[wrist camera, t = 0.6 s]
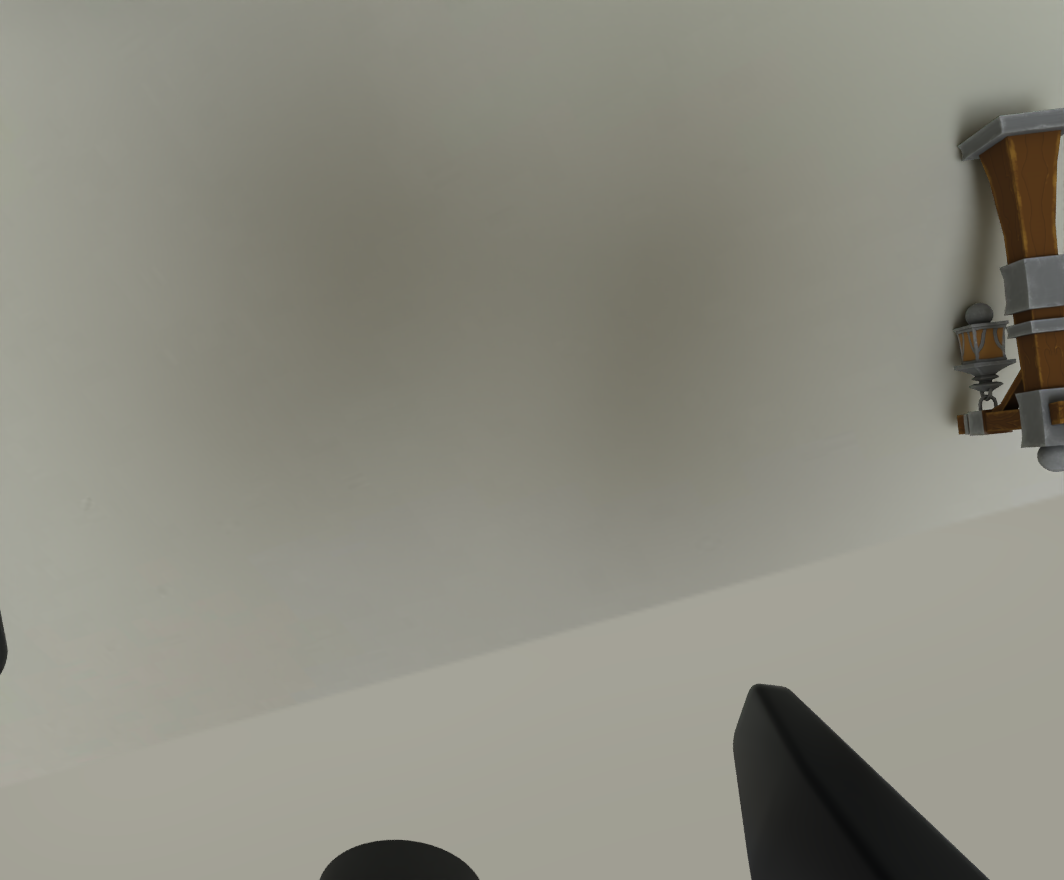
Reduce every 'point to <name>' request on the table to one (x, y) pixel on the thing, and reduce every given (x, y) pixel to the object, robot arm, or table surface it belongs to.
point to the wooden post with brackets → (1021, 287)
